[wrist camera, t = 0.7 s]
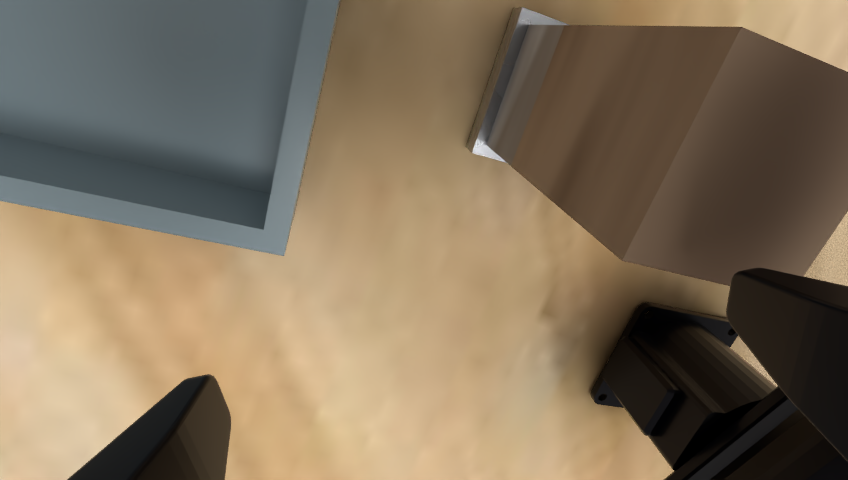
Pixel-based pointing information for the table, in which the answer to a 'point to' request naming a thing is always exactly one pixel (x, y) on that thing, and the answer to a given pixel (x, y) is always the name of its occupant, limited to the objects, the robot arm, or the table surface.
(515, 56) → the knob on square plate
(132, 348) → the table surface
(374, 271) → the table surface
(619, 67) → the strut
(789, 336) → the robot arm
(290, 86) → the bin
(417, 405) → the table surface
